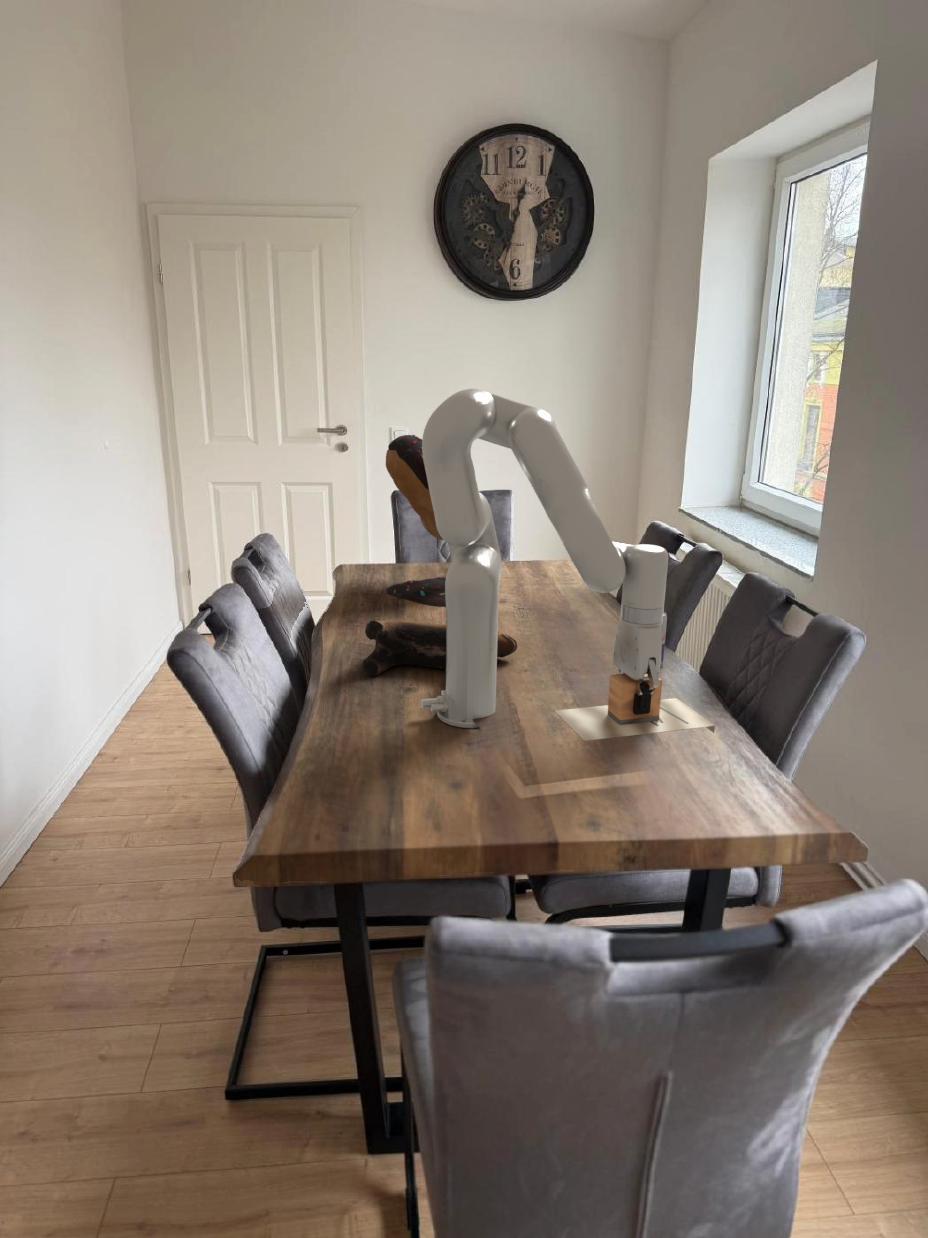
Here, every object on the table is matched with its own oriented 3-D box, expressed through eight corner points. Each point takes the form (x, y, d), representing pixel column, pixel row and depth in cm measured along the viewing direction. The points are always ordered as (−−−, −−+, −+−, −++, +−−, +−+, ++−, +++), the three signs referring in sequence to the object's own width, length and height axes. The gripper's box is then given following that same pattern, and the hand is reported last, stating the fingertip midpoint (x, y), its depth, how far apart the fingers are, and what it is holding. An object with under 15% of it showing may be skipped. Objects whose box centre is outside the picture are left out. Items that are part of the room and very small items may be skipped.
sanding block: (619, 725, 159) (622, 684, 157) (607, 714, 164) (610, 674, 162) (658, 720, 162) (662, 679, 159) (645, 710, 166) (648, 670, 164)
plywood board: (584, 748, 153) (584, 740, 153) (553, 718, 166) (554, 710, 165) (714, 733, 160) (715, 725, 160) (675, 705, 173) (675, 697, 173)
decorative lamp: (460, 575, 275) (462, 429, 262) (508, 600, 247) (513, 438, 234) (370, 583, 263) (368, 431, 250) (409, 611, 234) (409, 441, 222)
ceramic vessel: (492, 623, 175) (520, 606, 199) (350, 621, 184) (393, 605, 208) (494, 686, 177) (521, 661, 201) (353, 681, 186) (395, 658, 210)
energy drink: (645, 669, 193) (649, 617, 190) (634, 661, 198) (638, 610, 194) (667, 667, 194) (671, 615, 191) (655, 659, 199) (660, 609, 196)
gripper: (602, 602, 164) (595, 693, 169) (646, 628, 148) (637, 727, 153) (638, 600, 166) (630, 689, 171) (685, 626, 150) (675, 723, 155)
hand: (633, 706), depth 162 cm, fingers closed on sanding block, 5 cm apart
